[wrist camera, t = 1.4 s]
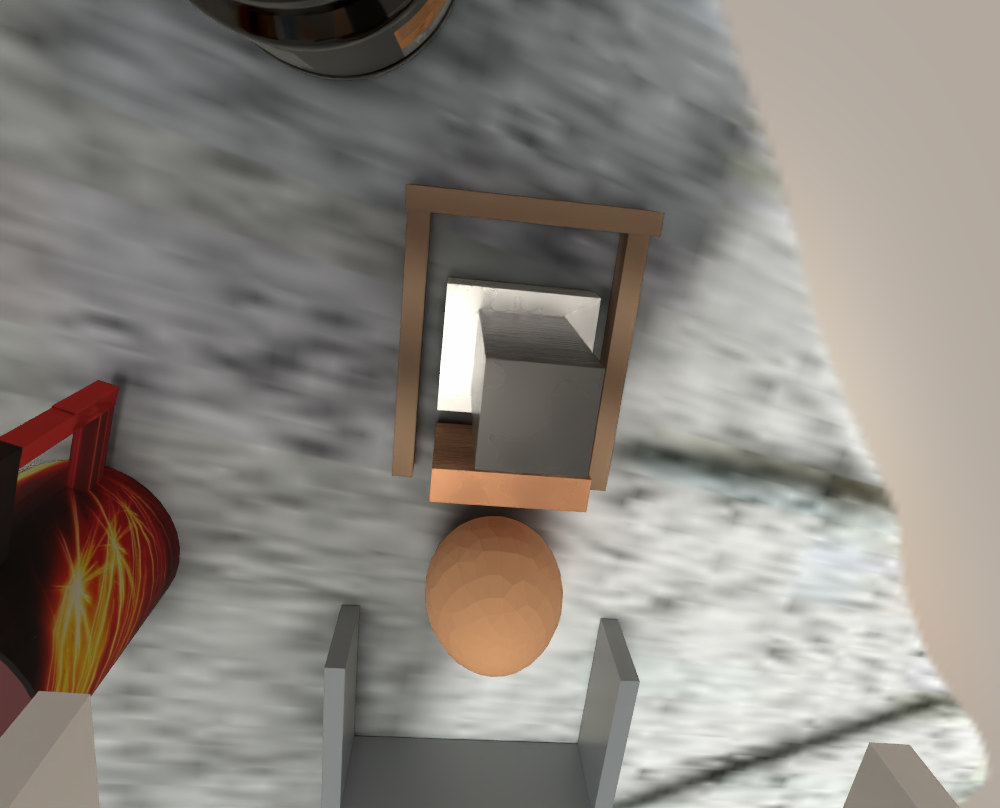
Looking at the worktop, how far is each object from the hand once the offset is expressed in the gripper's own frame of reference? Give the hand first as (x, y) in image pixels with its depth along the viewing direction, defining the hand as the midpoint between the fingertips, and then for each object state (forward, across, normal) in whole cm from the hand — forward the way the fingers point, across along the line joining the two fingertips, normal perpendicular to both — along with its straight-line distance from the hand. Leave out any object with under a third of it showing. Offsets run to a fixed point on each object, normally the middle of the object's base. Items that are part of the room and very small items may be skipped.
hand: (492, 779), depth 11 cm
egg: (+23, +2, -9) cm, 25 cm away
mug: (+23, -20, -9) cm, 32 cm away
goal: (+23, +2, -19) cm, 30 cm away
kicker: (+23, +2, +1) cm, 23 cm away
